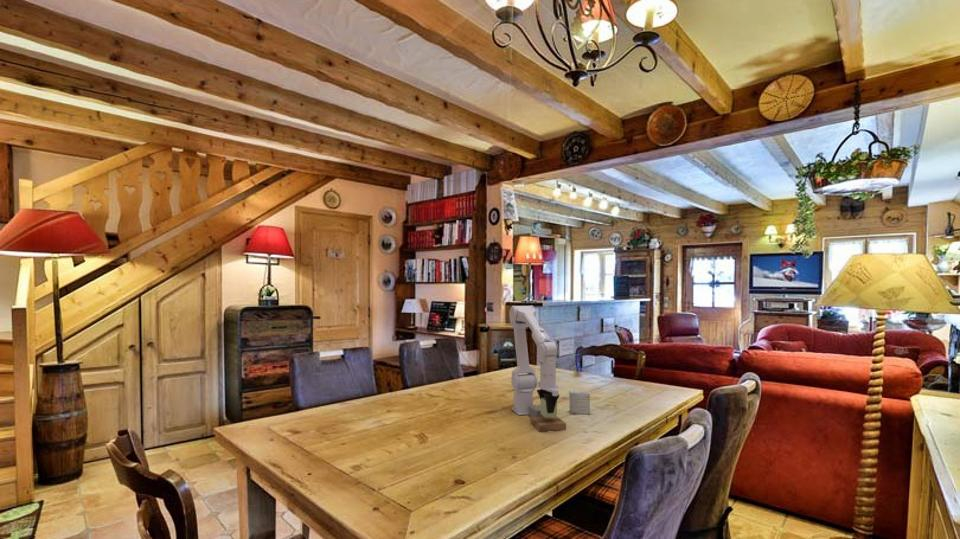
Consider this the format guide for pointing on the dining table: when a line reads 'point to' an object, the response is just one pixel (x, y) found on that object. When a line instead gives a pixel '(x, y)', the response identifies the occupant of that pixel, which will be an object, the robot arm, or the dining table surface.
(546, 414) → the sage block
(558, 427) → the walnut block
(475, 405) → the dining table surface
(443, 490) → the dining table surface
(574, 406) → the medicine box
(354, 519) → the dining table surface
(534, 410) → the grey block
